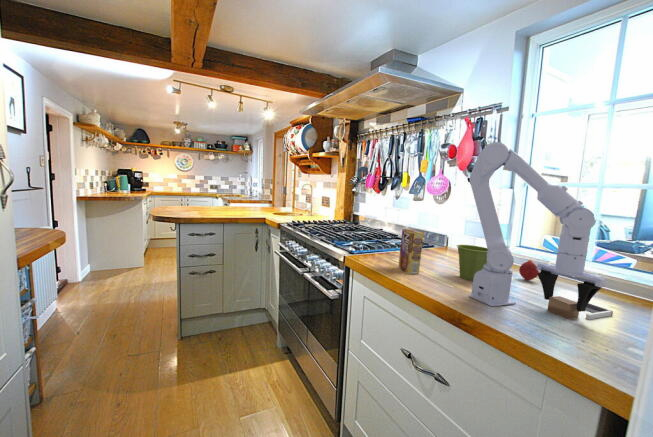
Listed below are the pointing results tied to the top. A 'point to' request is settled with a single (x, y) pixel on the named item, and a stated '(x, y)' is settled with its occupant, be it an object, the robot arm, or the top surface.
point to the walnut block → (563, 307)
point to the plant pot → (471, 260)
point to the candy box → (410, 251)
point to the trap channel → (597, 312)
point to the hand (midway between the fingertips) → (563, 304)
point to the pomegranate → (528, 270)
